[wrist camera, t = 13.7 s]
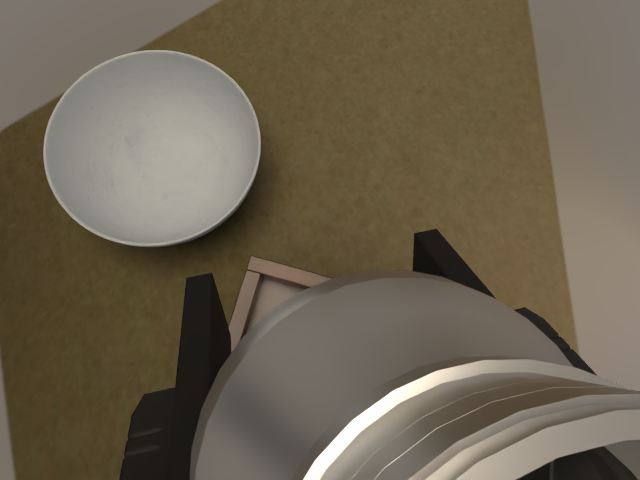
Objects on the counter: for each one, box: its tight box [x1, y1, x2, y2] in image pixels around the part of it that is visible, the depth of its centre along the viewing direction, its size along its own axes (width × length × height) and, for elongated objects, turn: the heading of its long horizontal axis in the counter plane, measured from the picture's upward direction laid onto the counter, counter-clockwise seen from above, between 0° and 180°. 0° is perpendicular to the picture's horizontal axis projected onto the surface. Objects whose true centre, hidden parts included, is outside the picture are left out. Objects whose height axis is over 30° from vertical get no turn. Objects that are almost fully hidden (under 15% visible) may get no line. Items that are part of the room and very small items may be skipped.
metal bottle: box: [190, 270, 640, 480], centre depth 11 cm, size 6×7×20 cm
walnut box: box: [228, 256, 333, 352], centre depth 31 cm, size 12×12×8 cm
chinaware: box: [43, 50, 261, 247], centre depth 33 cm, size 15×15×8 cm
